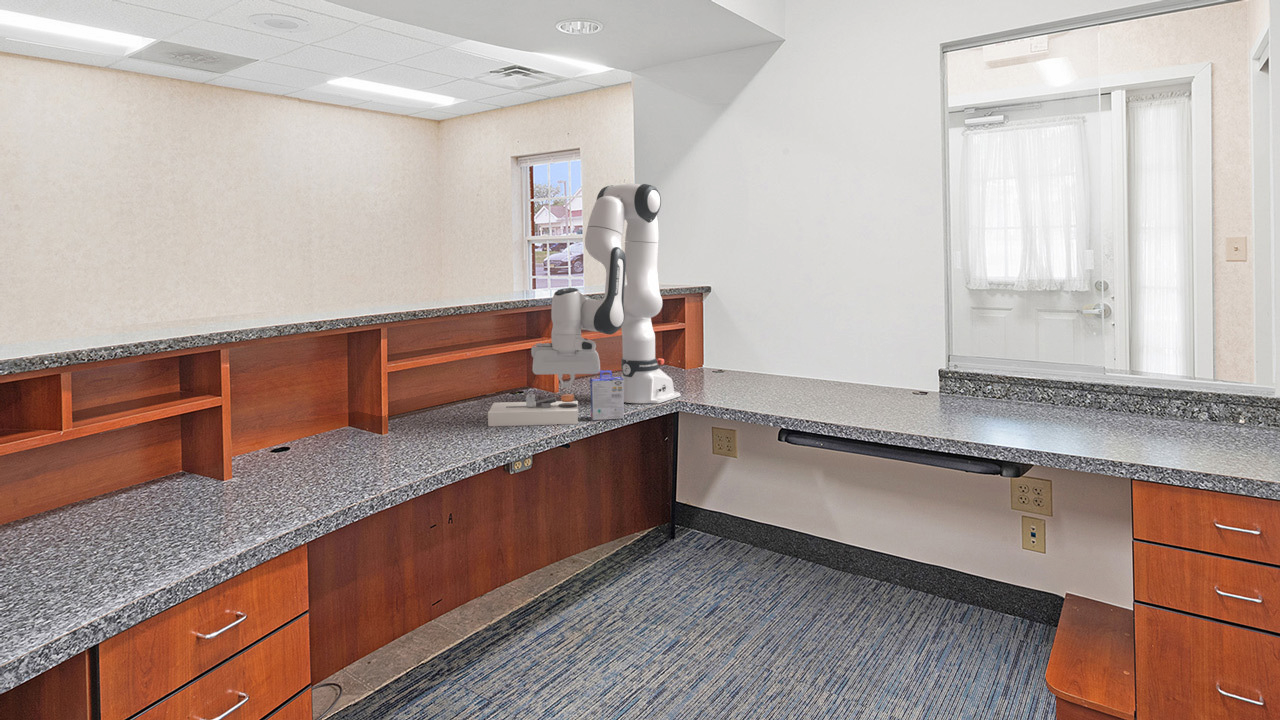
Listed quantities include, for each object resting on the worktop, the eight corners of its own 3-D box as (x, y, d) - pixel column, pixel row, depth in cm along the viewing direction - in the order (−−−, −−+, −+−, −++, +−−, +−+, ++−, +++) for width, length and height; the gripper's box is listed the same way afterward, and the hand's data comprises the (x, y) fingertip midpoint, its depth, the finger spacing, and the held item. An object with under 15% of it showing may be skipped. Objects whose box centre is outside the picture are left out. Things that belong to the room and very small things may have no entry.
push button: (574, 399, 220) (574, 394, 220) (574, 401, 216) (574, 396, 216) (561, 399, 220) (561, 394, 220) (560, 402, 216) (560, 397, 216)
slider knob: (535, 404, 219) (534, 393, 219) (534, 406, 216) (534, 395, 215) (527, 404, 219) (527, 393, 219) (526, 406, 216) (526, 395, 215)
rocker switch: (556, 399, 220) (555, 396, 220) (555, 402, 216) (555, 398, 216) (537, 404, 219) (536, 400, 219) (536, 406, 216) (535, 403, 216)
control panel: (578, 413, 226) (577, 396, 225) (577, 424, 212) (577, 405, 212) (494, 415, 224) (493, 397, 223) (488, 426, 211) (487, 407, 210)
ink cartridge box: (621, 414, 224) (621, 368, 221) (625, 419, 218) (624, 371, 216) (589, 416, 222) (589, 370, 219) (592, 420, 216) (591, 373, 214)
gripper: (531, 344, 210) (531, 391, 213) (601, 344, 214) (600, 390, 216) (531, 341, 217) (531, 387, 219) (598, 341, 220) (598, 386, 222)
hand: (566, 388), depth 217 cm, fingers closed
